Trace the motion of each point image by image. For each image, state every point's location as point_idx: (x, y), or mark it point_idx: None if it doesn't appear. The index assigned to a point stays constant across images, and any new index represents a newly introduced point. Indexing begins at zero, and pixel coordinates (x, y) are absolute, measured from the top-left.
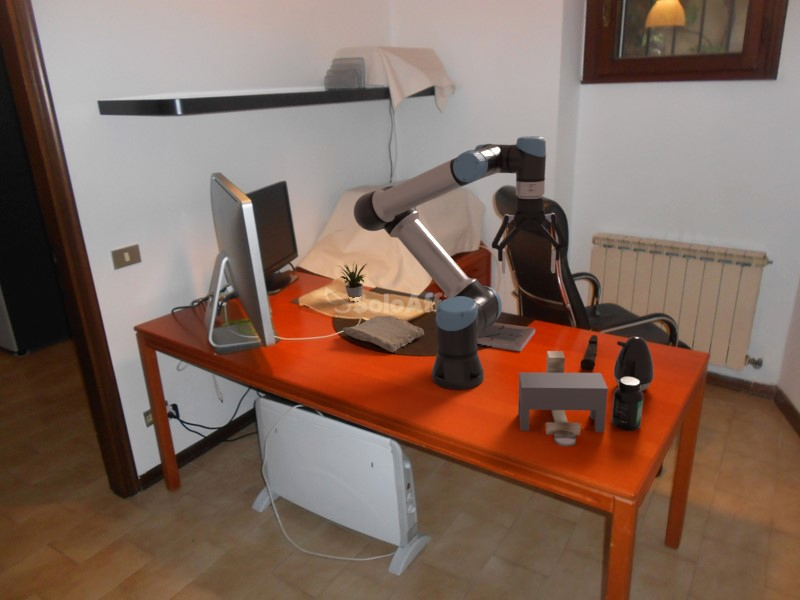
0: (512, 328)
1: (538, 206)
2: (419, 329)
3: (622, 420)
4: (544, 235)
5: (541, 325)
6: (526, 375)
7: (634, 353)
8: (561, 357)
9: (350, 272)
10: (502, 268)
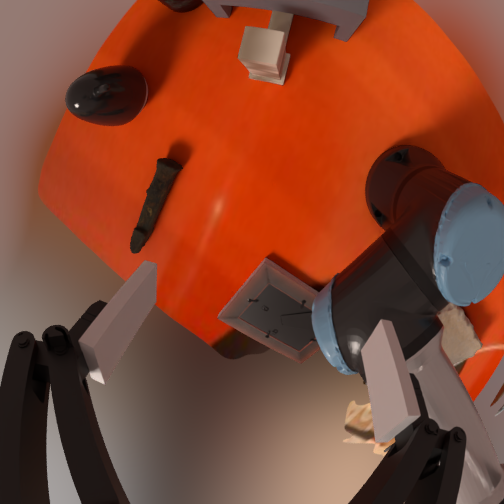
0: (254, 327)
1: None
2: None
3: None
4: (104, 469)
5: (202, 330)
6: (353, 1)
7: (97, 72)
8: (253, 28)
9: None
10: (397, 338)
